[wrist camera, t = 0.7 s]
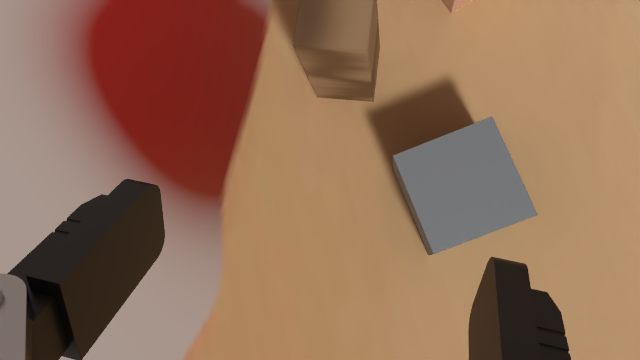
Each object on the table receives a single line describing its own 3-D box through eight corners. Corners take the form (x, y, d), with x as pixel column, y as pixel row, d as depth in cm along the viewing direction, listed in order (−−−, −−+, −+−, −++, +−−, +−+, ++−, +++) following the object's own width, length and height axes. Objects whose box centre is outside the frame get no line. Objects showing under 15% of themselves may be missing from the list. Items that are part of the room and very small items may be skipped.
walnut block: (379, 47, 41) (375, -21, 31) (373, 101, 40) (367, 49, 30) (324, 43, 42) (302, -24, 32) (317, 97, 41) (293, 45, 31)
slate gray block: (479, 134, 39) (492, 116, 34) (518, 221, 37) (537, 214, 33) (392, 169, 39) (393, 155, 34) (428, 255, 38) (433, 254, 33)
